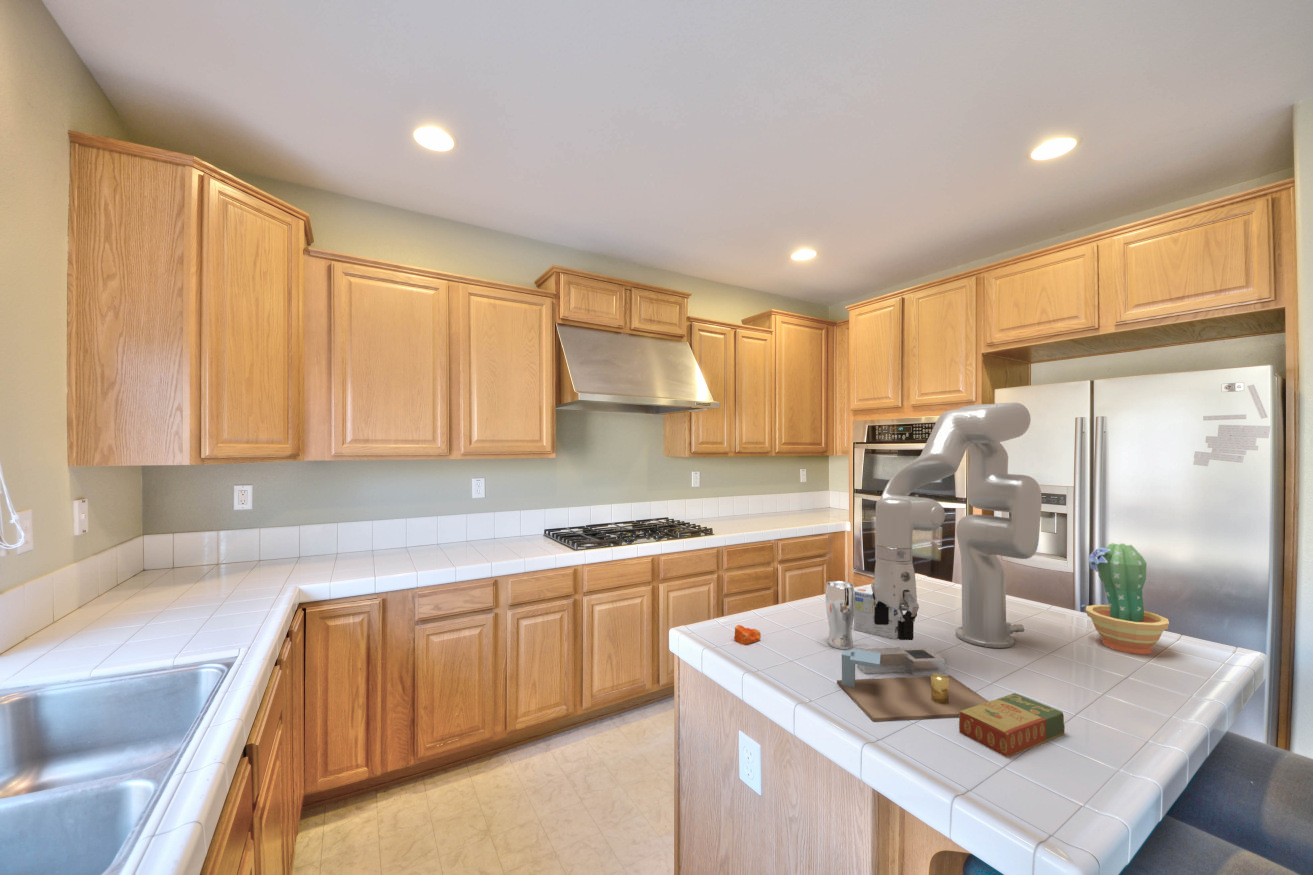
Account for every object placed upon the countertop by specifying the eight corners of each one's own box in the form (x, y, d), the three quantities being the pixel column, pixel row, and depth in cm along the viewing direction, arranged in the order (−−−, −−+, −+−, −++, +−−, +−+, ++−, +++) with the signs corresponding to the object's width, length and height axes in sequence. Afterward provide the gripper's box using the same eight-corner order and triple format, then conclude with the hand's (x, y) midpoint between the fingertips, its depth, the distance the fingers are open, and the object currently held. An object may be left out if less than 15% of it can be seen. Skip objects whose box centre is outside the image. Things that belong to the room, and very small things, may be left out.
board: (950, 678, 109) (950, 675, 109) (1003, 714, 94) (1003, 711, 94) (837, 683, 107) (836, 680, 107) (873, 721, 92) (873, 718, 92)
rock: (781, 645, 129) (781, 628, 130) (746, 656, 123) (746, 638, 123) (747, 631, 139) (747, 615, 139) (713, 640, 132) (713, 624, 132)
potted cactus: (1097, 631, 136) (1096, 536, 137) (1179, 650, 124) (1176, 546, 124) (1075, 643, 128) (1073, 543, 128) (1160, 665, 115) (1157, 553, 116)
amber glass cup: (942, 696, 100) (942, 672, 100) (952, 703, 97) (952, 679, 97) (927, 696, 100) (927, 673, 100) (937, 704, 97) (937, 680, 97)
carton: (958, 734, 89) (957, 709, 89) (1014, 713, 96) (1014, 690, 96) (1008, 760, 81) (1007, 732, 81) (1065, 735, 88) (1065, 710, 88)
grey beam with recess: (925, 660, 118) (924, 642, 118) (945, 674, 111) (945, 655, 111) (853, 663, 117) (853, 645, 117) (869, 677, 110) (869, 658, 110)
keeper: (880, 686, 106) (880, 652, 106) (880, 699, 100) (879, 664, 100) (843, 679, 109) (843, 647, 109) (841, 691, 103) (840, 657, 103)
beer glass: (851, 639, 131) (850, 581, 131) (859, 650, 124) (858, 588, 124) (823, 639, 132) (822, 580, 132) (829, 649, 125) (829, 587, 125)
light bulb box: (903, 632, 136) (902, 591, 136) (895, 640, 131) (894, 597, 131) (862, 623, 143) (861, 584, 143) (853, 630, 138) (852, 590, 138)
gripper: (933, 562, 106) (933, 646, 105) (888, 547, 123) (888, 619, 123) (899, 562, 105) (898, 646, 105) (858, 546, 123) (858, 619, 122)
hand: (893, 631), depth 114 cm, fingers open, 9 cm apart
